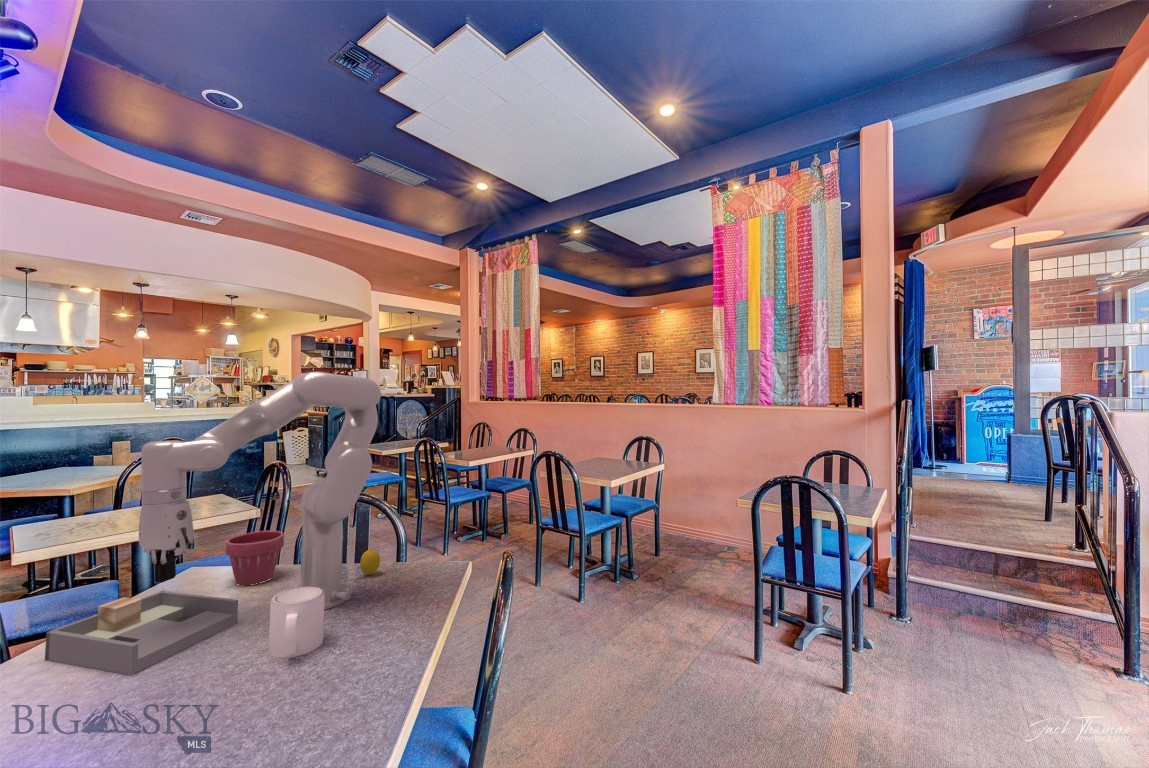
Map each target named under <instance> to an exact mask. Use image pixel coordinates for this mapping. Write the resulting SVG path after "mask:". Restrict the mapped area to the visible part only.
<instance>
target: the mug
mask: <svg viewBox="0 0 1149 768" xmlns="http://www.w3.org/2000/svg"><path fill="white" fill-rule="evenodd" d="M324 598H325V591H324V589H323V588H321V587H316V586H306V587H300V586H299V587H294V588H288V589H286V590H283V591H281V592H278V593H276V594H274V595H273V596H272V597H271V598H270V601H269V603H270V605H269V606H270V607H269V609H270V610H269V632H268V633H269V635H268V655H270V656H271V657H273V658H277V659H287V658H295V657H299V656H303V655H305V654H308V653H310V652H312V651H314V650H316V649H318V648H319V647H320V646H321V645H322V644H323V642H324V631H325V630H324V627H325V624H324V623H325V622H324V620H325V610H324Z"/></svg>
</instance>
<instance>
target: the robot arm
mask: <svg viewBox="0 0 1149 768" xmlns="http://www.w3.org/2000/svg"><path fill="white" fill-rule="evenodd" d="M381 397H382V391H381V388H380V386H379V384H377V382H376V381H374V380H372V379H370V378H367V377H362V376H361V377H359V376H352V375H343V374H337V373H330V372H323V371H309V372H305V373H302V374H300V375H298V376H296V377H295V378H293V379H291V380H290V381H288V382H286V383H285V384H283V385H282V386H280V387H278V388H277V389H275V390H273V391H272V392H269V393H268V394H267V395H265V396H263V397H261V398H260V399H258V400H257V401H255V402H253V403H252V404H250V405H248V406H247V407H245V408H244V409H243V410H241V411H239V412H238V413H236V414H234V415H233V416H231V417H230V418H228V419H226V420H224V421H222V422H221V423H219V424H218V425H216V426H215V427H213V428H211V429H209V430H208V431H206V432H204V433H203V434H201V435H199V436H198V437H196V438H195V439H193V440H189V441H182V440H178V439H177V440H172V439H170V440H160V441H159V440H158V441H151V442H147V443H145V444H143V446H142V448H141V454H140V455H141V509H140V513H139V523H138V544H139V547H140V548H142V549H143V553H146V554H149V555H150V556H151V562H152V564H153V565H154V583H165V582H168V581H169V580H172V579H175V578H176V575H177V574H176V573H177V571H176V561H177V560H178V559H179V556H180V555H184V554H186V553H187V550H188V549H187V546H189V545H191V544H193V543H194V537H195V536H194V522H193V514H192V509H191V505H190V502H189V501H187V500H188V499H187V498H188V497H187V493H188V491H187V472H210V471H215V470H218V469H220V468H221V467H223V466H224V465H226V462H227V461H228V460H229V457H230V455H231V454H232V453H234V452H235V451H237V450H239V449H240V448H242V447H243V446H245V445H247V444H249V443H250V442H252V441H253V440H255V439H258V438H260V437H263V436H266V435H270V434H272V433H274V432H276V431H278V430H280V429H281V428H283V427H284V426H286V425H288V424H290V422H292V421H293V420H295V419H297V418H298V417H300V416H301V415H302V414H304V413H306V412H307V411H309V410H310V409H312V408H314V407H315V406H322V407H333V408H339V409H340V408H341V409H344V413H345V415H344V422H343V423H342V426H341V429H340V430H339V433H338V434H337V437H336V438H335V440H334V442H333V444H332V446H331V447H330V449H329V451H328V453H327V455H326V456H325V460H324V468H325V470H326V472H327V475H326V476H325V478H324V479H323V480H318V481H317V480H316V481H314V482H313V483H311V484H309V486H307V488H306V489H305V490H304V491H303V494H302V496H301V501H300V502H301V503H300V509H301V528H302V529H301V531H302V532H301V558H300V561H301V562H300V565H301V566H300V586H299V587H306V586H316V587H321V588H323V589H324V591H325V598H324V611H325V610H328V609H331V608H332V609H333V608H334V607H337V606H340V605H341V604H343V603H344V602H345V601H348V600H350V598H351V595H352V594H353V589H352V588H346V585H345V584H346V583H345V581H342V571H343V569H342V565H343V538H344V531H343V529H344V527H343V525H344V524H343V521H344V520H345V519H346V518H347V517H348V516H349V515H350V514H351V512H352V510H353V509H354V506H356V505H355V504H356V503H357V501H358V499H359V497H360V495H361V493H362V490H363V489H364V487H365V485H366V483H367V481H368V478H369V477H370V474H371V472H372V466H373V459H372V455H371V454H370V452H369V451H368V449H369V447H370V446H371V442H372V440H373V438H374V436H375V433H376V431H377V428H378V421H379V415H378V411H377V410H378V409H377V406H376V405H377V404H378V403H379V402H380V399H381Z"/></svg>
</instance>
